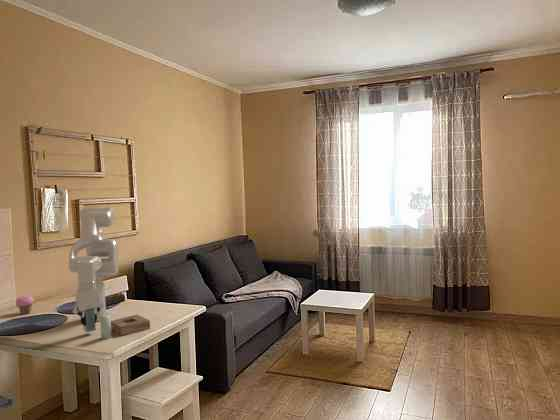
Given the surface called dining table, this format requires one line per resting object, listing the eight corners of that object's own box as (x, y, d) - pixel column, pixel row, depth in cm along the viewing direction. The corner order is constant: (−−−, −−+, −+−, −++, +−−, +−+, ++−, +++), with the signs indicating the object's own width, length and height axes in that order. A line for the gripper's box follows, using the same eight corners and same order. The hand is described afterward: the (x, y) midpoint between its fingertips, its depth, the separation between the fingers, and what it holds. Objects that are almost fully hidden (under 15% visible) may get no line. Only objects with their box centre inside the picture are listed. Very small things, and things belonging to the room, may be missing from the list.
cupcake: (33, 314, 234) (32, 296, 234) (15, 316, 231) (14, 298, 230) (35, 310, 242) (34, 292, 242) (17, 312, 239) (16, 294, 238)
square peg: (86, 332, 196) (85, 311, 195) (83, 330, 199) (82, 309, 198) (95, 330, 199) (94, 309, 198) (92, 327, 202) (91, 307, 201)
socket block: (109, 329, 205) (109, 321, 205) (137, 322, 215) (136, 314, 215) (121, 335, 195) (121, 327, 195) (150, 328, 205) (149, 320, 205)
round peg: (99, 337, 193) (98, 316, 193) (109, 335, 196) (108, 314, 196) (103, 340, 190) (102, 318, 190) (113, 337, 193) (112, 316, 193)
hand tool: (120, 300, 259) (120, 291, 259) (125, 301, 257) (125, 292, 257) (87, 310, 240) (86, 300, 240) (92, 311, 238) (91, 301, 237)
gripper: (102, 280, 205) (104, 317, 207) (65, 287, 194) (67, 326, 195) (108, 283, 200) (110, 321, 202) (70, 290, 188) (73, 330, 190)
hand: (89, 323), depth 198 cm, fingers closed on square peg, 4 cm apart
